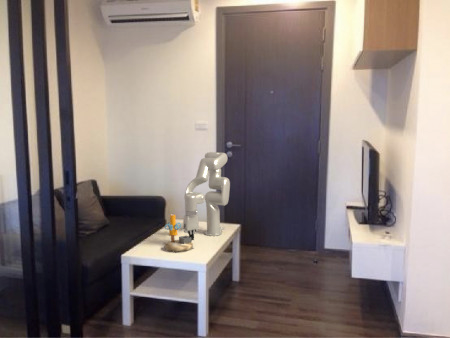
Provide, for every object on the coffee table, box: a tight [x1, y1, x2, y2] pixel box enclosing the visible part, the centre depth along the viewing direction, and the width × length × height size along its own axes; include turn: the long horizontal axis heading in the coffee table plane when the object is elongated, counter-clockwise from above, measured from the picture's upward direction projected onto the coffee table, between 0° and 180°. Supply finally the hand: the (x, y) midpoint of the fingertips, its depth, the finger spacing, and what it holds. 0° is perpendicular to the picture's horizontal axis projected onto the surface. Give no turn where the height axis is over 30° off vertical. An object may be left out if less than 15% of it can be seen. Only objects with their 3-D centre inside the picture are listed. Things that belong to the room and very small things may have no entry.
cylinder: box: [164, 213, 182, 237], centre depth 314 cm, size 12×10×15 cm
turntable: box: [164, 235, 194, 253], centre depth 282 cm, size 18×18×6 cm
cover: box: [178, 235, 193, 244], centre depth 285 cm, size 6×6×4 cm
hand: (191, 239), depth 288 cm, fingers closed
